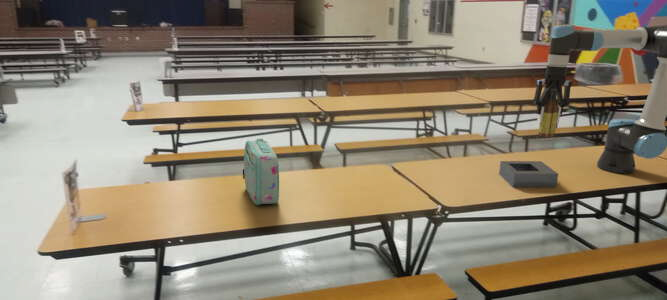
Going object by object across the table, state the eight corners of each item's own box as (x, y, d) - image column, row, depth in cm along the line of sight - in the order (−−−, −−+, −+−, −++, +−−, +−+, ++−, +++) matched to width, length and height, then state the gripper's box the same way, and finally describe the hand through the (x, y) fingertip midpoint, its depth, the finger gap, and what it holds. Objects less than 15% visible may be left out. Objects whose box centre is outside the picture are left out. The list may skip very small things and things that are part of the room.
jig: (539, 174, 208) (541, 161, 206) (556, 187, 193) (558, 173, 191) (499, 173, 208) (500, 161, 206) (512, 187, 192) (514, 173, 191)
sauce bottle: (551, 134, 197) (559, 87, 191) (556, 138, 191) (565, 90, 185) (535, 133, 198) (542, 86, 192) (539, 137, 192) (548, 89, 186)
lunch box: (241, 185, 192) (239, 135, 186) (266, 182, 196) (264, 132, 189) (254, 211, 168) (252, 154, 162) (282, 207, 172) (281, 151, 165)
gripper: (576, 64, 190) (566, 120, 196) (529, 63, 189) (520, 119, 196) (586, 67, 182) (575, 124, 189) (537, 66, 182) (528, 123, 189)
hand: (547, 121), depth 193 cm, fingers closed on sauce bottle, 6 cm apart
